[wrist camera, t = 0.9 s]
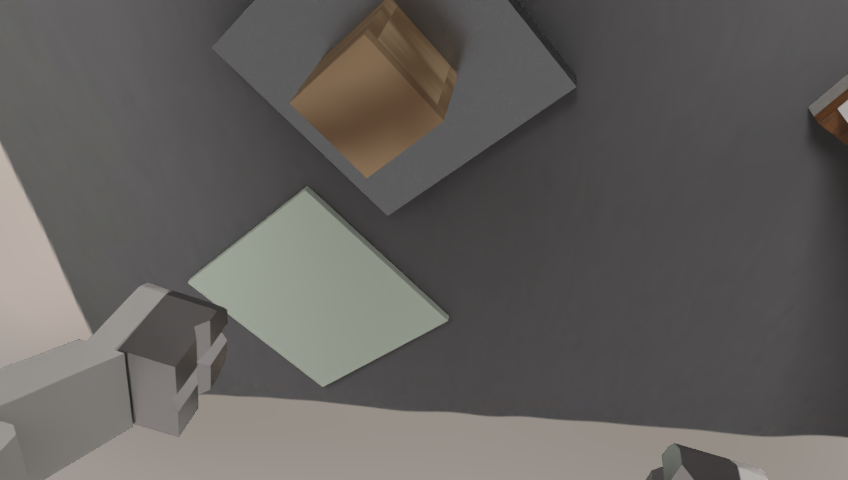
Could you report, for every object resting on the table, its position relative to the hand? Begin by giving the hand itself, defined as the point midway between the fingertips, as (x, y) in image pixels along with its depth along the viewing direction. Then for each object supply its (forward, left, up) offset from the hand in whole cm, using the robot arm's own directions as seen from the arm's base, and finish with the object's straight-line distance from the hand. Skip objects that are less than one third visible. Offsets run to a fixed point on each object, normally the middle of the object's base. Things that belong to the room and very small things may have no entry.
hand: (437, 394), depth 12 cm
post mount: (0, -10, -31) cm, 32 cm away
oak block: (0, -10, -29) cm, 31 cm away
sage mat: (+11, -30, -31) cm, 44 cm away
